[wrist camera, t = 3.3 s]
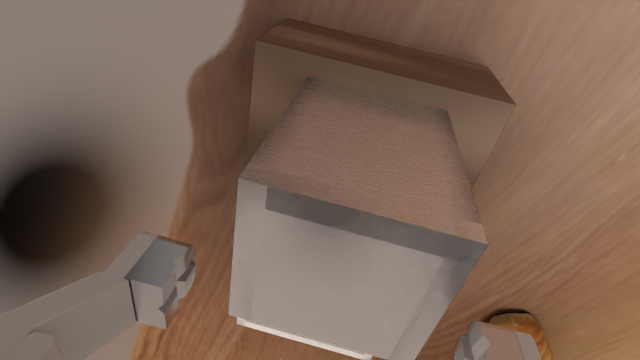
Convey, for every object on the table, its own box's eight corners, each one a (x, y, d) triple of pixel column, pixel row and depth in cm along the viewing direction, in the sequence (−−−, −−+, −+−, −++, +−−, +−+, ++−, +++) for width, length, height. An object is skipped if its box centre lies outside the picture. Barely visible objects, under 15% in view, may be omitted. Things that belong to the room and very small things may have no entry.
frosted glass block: (405, 209, 20) (410, 366, 12) (290, 179, 20) (228, 314, 13) (447, 110, 16) (488, 244, 9) (309, 75, 17) (238, 178, 9)
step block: (417, 221, 27) (421, 280, 23) (267, 181, 28) (239, 231, 23) (488, 67, 21) (516, 105, 16) (288, 18, 21) (255, 40, 16)
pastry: (470, 304, 32) (479, 343, 29) (556, 306, 30) (575, 348, 27) (466, 366, 36) (473, 405, 33) (540, 370, 35) (554, 412, 32)
